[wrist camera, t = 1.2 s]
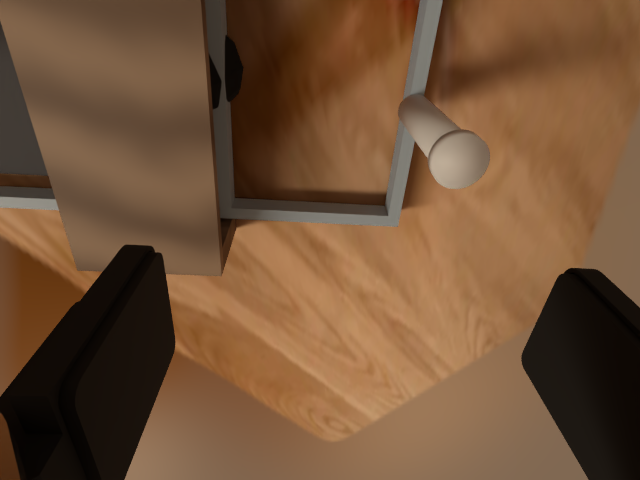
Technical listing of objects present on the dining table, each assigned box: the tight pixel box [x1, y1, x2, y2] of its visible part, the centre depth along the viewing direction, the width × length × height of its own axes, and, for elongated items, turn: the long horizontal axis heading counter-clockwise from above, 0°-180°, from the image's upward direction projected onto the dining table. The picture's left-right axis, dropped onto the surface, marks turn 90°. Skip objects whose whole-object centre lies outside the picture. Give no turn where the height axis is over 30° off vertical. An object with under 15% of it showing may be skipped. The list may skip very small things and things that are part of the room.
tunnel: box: [0, 0, 236, 276], centre depth 28 cm, size 25×11×8 cm, turn 176°
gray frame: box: [0, 0, 490, 227], centre depth 25 cm, size 20×42×13 cm, turn 86°
